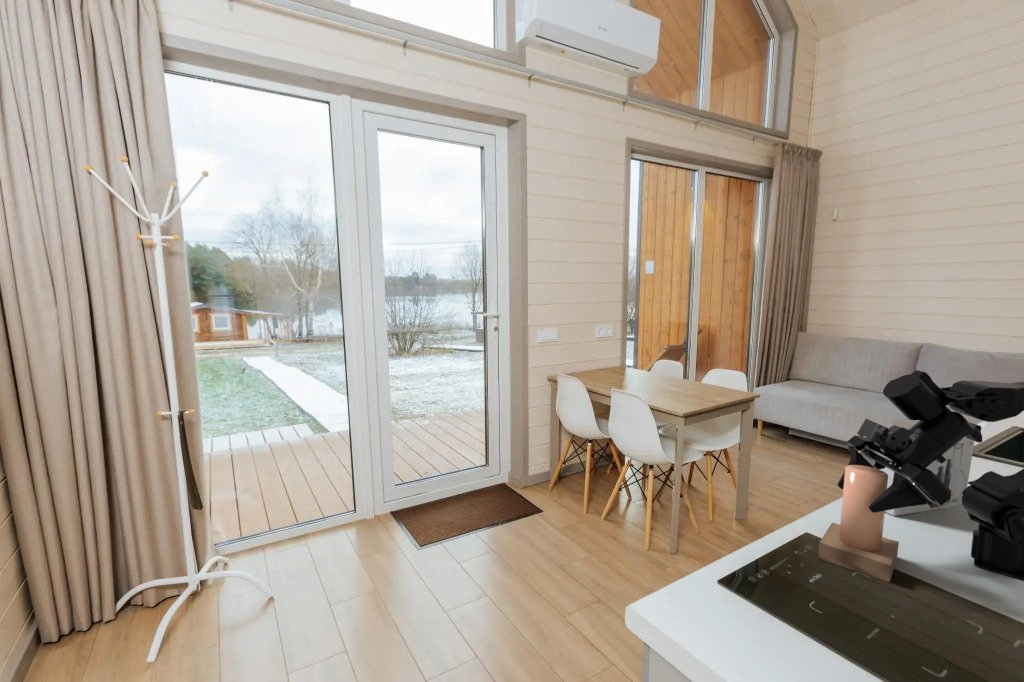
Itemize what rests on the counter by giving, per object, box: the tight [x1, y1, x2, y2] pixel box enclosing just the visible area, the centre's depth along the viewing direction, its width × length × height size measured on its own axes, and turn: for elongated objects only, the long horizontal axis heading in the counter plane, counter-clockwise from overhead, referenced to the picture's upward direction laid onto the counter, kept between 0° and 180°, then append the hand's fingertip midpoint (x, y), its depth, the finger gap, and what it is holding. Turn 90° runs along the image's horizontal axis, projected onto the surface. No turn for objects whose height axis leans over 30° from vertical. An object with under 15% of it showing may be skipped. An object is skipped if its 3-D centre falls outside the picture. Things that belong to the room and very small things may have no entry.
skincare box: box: [879, 438, 975, 517], centre depth 104 cm, size 21×5×16 cm, turn 105°
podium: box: [817, 522, 900, 583], centre depth 85 cm, size 10×10×3 cm
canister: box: [839, 464, 888, 551], centre depth 84 cm, size 6×6×13 cm
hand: (854, 498), depth 84 cm, fingers open, 9 cm apart
